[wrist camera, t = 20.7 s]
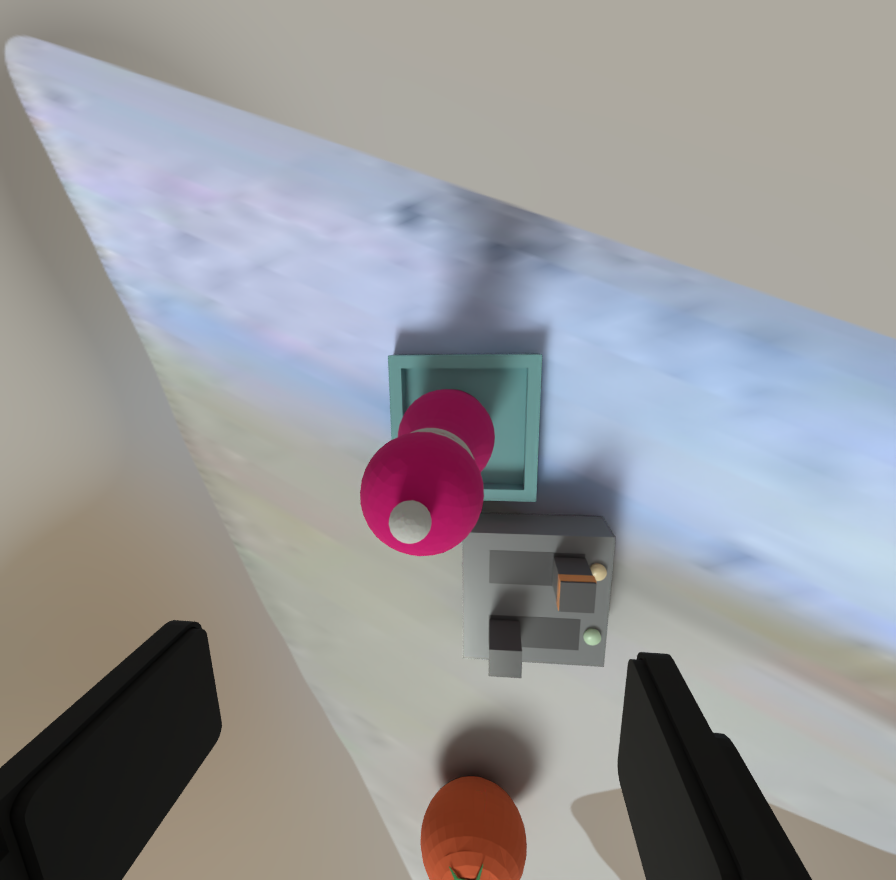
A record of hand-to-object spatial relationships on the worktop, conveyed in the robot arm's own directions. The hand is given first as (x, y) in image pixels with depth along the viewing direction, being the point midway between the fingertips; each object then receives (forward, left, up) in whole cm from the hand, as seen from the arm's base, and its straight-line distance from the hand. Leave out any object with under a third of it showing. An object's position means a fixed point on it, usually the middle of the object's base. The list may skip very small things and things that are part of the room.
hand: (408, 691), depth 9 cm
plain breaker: (-3, +17, -24) cm, 30 cm away
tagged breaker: (-8, +11, -24) cm, 28 cm away
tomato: (-1, +40, -29) cm, 49 cm away
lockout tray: (0, 0, -28) cm, 28 cm away
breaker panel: (-6, +14, -28) cm, 32 cm away
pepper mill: (+2, 0, -28) cm, 28 cm away
